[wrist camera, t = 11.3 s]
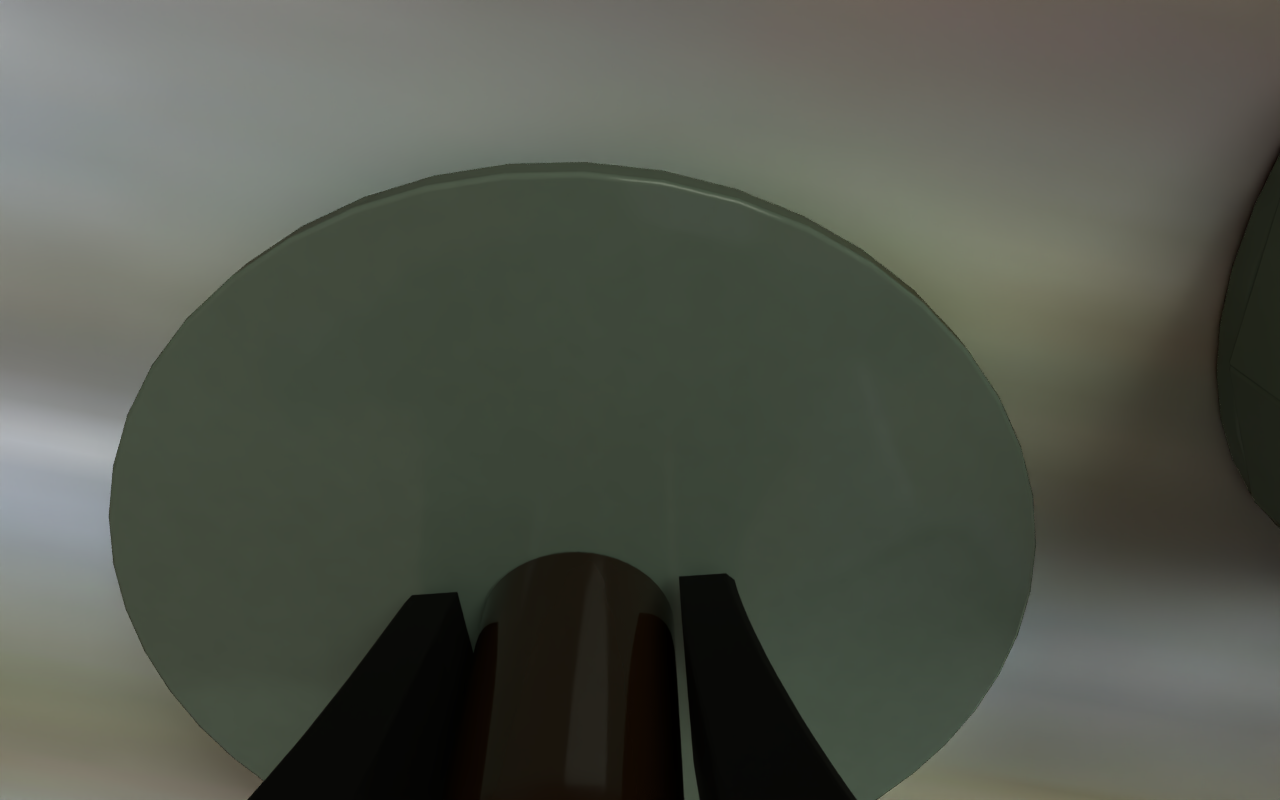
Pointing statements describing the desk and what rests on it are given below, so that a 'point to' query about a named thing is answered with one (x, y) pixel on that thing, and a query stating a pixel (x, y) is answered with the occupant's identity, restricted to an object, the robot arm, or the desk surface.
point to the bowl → (1254, 353)
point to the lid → (573, 478)
